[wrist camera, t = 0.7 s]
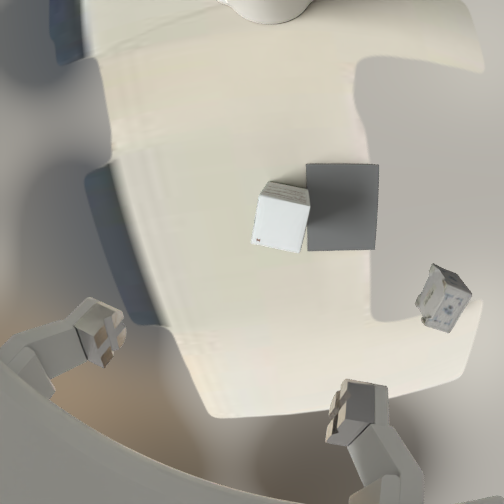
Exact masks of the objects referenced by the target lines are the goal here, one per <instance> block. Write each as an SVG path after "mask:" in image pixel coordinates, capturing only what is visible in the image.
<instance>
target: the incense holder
mask: <svg viewBox="0 0 504 504" xmlns="http://www.w3.org/2000/svg"><path fill="white" fill-rule="evenodd" d="M471 297H472V293H471V291H470V290H469V289H468V288H467V286H466V285H465V284H464V282H463V281H462V280H461V279H460V277H459V276H458V275H457V274H456V273H453V272H451V271H448V270H445V269H443V268H441V267H439V266H437V265H435V264H432V266H431V268H430V270H429V277H428V280H427V281H426V284H425V286H424V288H423V292H421V294H420V295H419V296H418V298H417V300H416V303H415V305H416V307H418V309H419V310H420V311H421V314H422V316H423V317H422V318H421V321H422V323H423V324H424V325H425V326H428V327H432V328H434V329H437V330H440V331H443V332H446V333H450V332H451V330H452V328H453V327H454V325H455V324H456V322H457V320H458V318H459V317H460V315H461V313H462V312H463V310H464V309H465V307H466V306H467V304H468V302H469V300H470V298H471Z"/></svg>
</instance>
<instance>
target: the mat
mask: <svg viewBox="0 0 504 504" xmlns="http://www.w3.org/2000/svg"><path fill="white" fill-rule="evenodd" d="M306 177H307V189H308V192H309V198H310V206H311V207H310V212H309V217H308V222H307V234H308V251H335V250H374V249H375V240H376V226H377V210H378V186H379V185H378V184H379V165H375V164H306Z"/></svg>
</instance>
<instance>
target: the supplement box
mask: <svg viewBox="0 0 504 504" xmlns="http://www.w3.org/2000/svg"><path fill="white" fill-rule="evenodd" d="M310 207H311V206H310V198H309V192H308V189H304V188H299V187H294V186H289V185H284V184H279V183H274V182H267V184H266V186H265V187H264V189H263V190H262V191H261V193H260V194H259V197H258V203H257V209H256V215H255V220H254V227H253V232H252V238H251V244H255V245H261V246H266V247H271V248H276V249H280V250H285V251H290V252H295V253H300V251H301V247H302V243H303V239H304V235H305V231H306V226H307V222H308V217H309V212H310Z"/></svg>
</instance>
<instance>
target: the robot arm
mask: <svg viewBox="0 0 504 504" xmlns="http://www.w3.org/2000/svg"><path fill="white" fill-rule="evenodd" d="M217 1H218V2H219V3H222V4H224V5H227V6H230V7H231V8H232V9H233V10H234V11H235V12H236V13H238V14H239V15H240V16H242V17H243V18H245V19H247V20H250V21H252V22H256V23H261V24H278V23H283V22H286V21H289V20H292V19H294V18H295V17H297V16H299V15H300V14H301V13H302V12H303V11H304V10H305V9H306V7H307V6H308V5H309V3H310V2H312V1H314V0H217ZM123 318H124V317H123V313H122V311H120V310H118V309H116V308H114V307H111V306H109V305H107V304H105V303H103V302H101V301H98V300H96V299H94V298H92V297H89V298H86V299H85V300H84V301H83V302H82V303H81V304H80V305H79V306H78V307H77V308H76V309H75V310H74V311H73V312H72V313H71V314H69V316H67V318H65V319H64V320H63V321H62V320H58V321H55V322H52V323H48V324H45V325H42V326H39V327H36V328H33V329H30V330H26V331H23V332H20V333H17V334H14V335H13V336H12V337H11V338H10V339H9V340H8V341H7V342H6V343H5V344H4V345H3V346H2V347H1V348H0V504H303V503H296V502H291V501H284V500H280V499H275V498H270V497H265V496H261V495H256V494H252V493H248V492H244V491H240V490H237V489H233V488H230V487H226V486H223V485H220V484H216V483H213V482H210V481H207V480H204V479H201V478H198V477H196V476H193V475H190V474H187V473H184V472H182V471H179V470H177V469H174V468H172V467H169V466H167V465H164V464H162V463H160V462H158V461H155V460H153V459H150V458H149V457H146V456H144V455H142V454H140V453H138V452H136V451H133V450H132V449H130V448H128V447H126V446H124V445H122V444H120V443H118V442H116V441H114V440H112V439H111V438H108V437H107V436H105V435H103V434H102V433H100V432H98V431H96V430H95V429H93V428H91V427H90V426H88V425H86V424H84V423H83V422H81V421H80V420H78V419H77V418H75V417H73V416H72V415H70V414H69V413H67V412H66V411H64V410H63V409H62V408H60V407H58V406H57V405H56V404H54V403H53V402H51V401H50V400H49V399H50V398H51V397H52V395H53V394H54V392H55V387H54V386H53V384H52V382H51V381H50V379H52V378H54V377H56V376H58V375H60V374H62V373H64V372H66V371H68V370H70V369H72V368H74V367H76V366H78V365H80V364H82V363H84V362H86V361H87V360H88V361H91V362H92V363H94V364H96V365H99V366H100V367H102V368H105V367H106V365H107V364H108V363H109V362H110V360H111V359H112V358H113V351H115V350H117V349H120V347H121V346H122V345H123V343H124V341H125V338H126V327H125V325H124V324H123V322H122V320H123ZM329 417H330V419H331V422H330V424H329V425H328V426H327V432H326V440H325V443H330V444H336V445H342V446H348V447H347V448H348V450H349V453H350V455H351V457H352V460H353V462H354V464H355V466H356V469H357V471H358V474H359V476H360V478H361V480H362V483H363V485H364V487H365V488H363V489H361V490H359V491H358V492H356V493H354V494H353V495H351V496H350V498H349V504H423V503H424V473H423V472H422V470H421V469H420V467H419V466H418V464H417V463H416V461H415V459H414V458H413V456H412V455H411V453H410V452H409V450H408V449H407V447H406V446H405V444H404V442H403V441H402V439H401V438H400V436H399V435H398V433H397V432H396V430H395V429H394V427H393V426H389V402H388V388H387V386H383V385H377V384H372V383H367V382H361V381H356V380H350V379H345V380H344V381H343V382H342V384H341V390H340V391H337V392H336V394H335V395H334V397H333V400H332V402H331V405H330V410H329ZM456 504H504V498H503V497H501V496H492V497H487V498H483V499H478V500H473V501H468V502H463V503H456Z"/></svg>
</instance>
